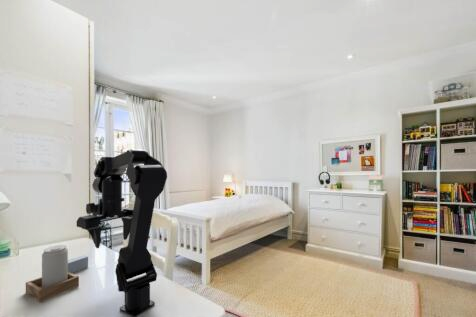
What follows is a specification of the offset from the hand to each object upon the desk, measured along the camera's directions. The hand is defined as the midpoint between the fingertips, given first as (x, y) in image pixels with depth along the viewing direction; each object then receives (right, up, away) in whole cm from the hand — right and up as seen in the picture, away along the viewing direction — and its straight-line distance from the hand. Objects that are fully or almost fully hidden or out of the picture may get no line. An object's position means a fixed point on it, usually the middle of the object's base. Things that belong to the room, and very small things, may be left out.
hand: (111, 243), depth 77 cm
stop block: (-19, -13, +10) cm, 25 cm away
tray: (-17, -13, -3) cm, 21 cm away
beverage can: (-16, -13, -3) cm, 21 cm away
